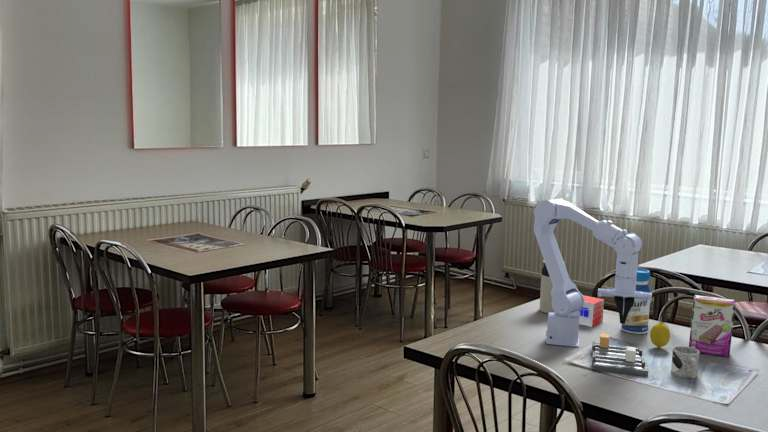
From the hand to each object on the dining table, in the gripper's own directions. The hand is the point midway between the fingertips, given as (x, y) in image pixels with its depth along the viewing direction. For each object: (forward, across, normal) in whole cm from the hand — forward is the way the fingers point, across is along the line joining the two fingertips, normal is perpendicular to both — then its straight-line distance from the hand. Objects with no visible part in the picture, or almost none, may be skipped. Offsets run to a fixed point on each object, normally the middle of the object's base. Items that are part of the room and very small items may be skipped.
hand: (622, 322), depth 203 cm
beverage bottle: (+10, +6, +27) cm, 29 cm away
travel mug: (+10, -22, +41) cm, 47 cm away
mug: (+10, +16, -11) cm, 22 cm away
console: (+10, 0, -5) cm, 11 cm away
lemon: (+10, +12, +11) cm, 19 cm away
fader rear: (+8, -5, 0) cm, 9 cm away
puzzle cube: (+10, -10, +32) cm, 35 cm away
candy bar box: (+10, +26, +12) cm, 30 cm away
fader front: (+8, +2, -10) cm, 13 cm away
